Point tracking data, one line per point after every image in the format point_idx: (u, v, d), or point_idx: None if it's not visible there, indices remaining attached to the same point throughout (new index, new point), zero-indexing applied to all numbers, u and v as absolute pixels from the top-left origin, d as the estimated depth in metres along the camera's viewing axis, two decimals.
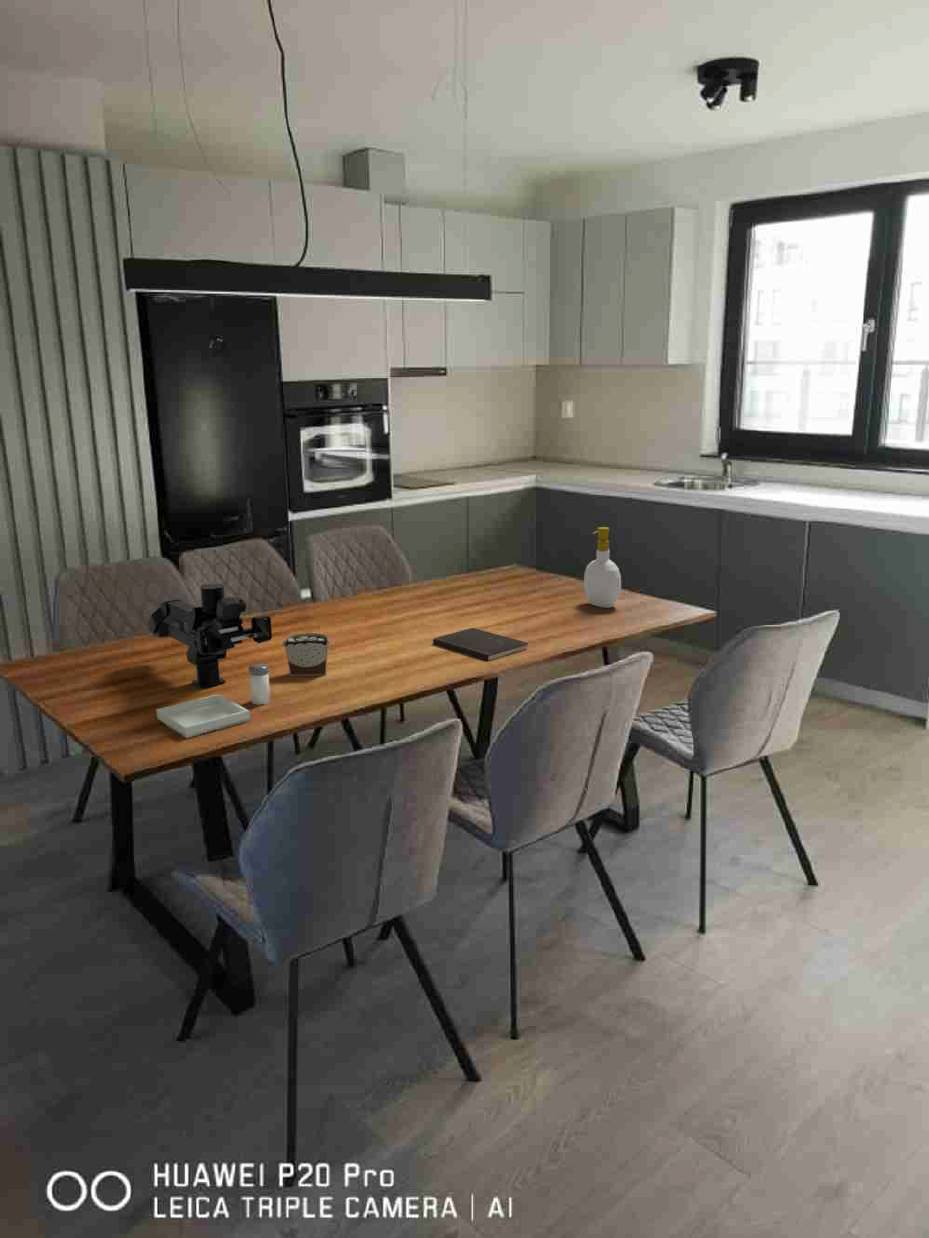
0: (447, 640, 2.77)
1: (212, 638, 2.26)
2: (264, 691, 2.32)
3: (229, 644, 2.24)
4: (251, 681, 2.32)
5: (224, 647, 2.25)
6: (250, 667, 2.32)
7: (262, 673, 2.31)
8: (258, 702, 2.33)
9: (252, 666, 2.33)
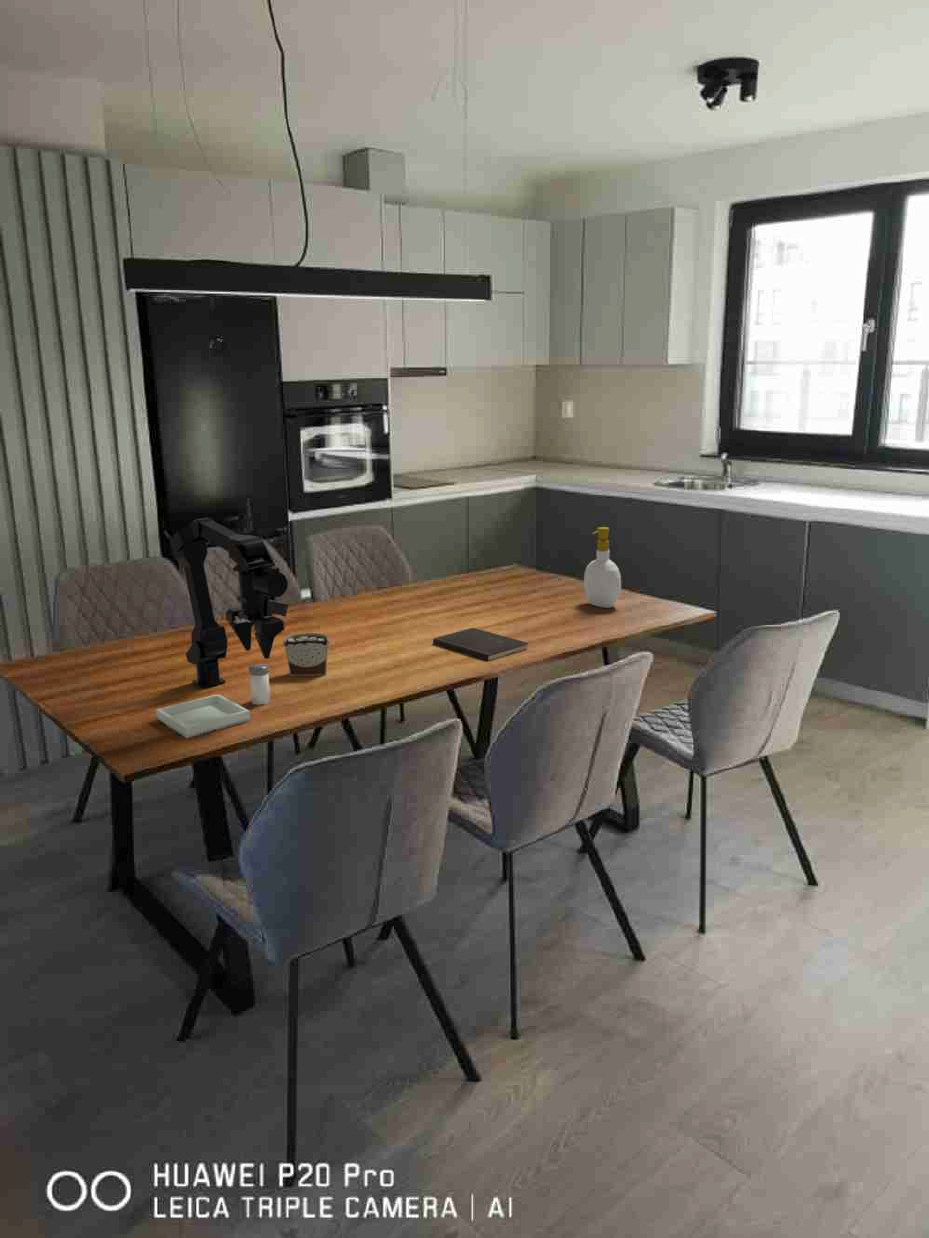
0: (447, 640, 2.77)
1: None
2: (264, 691, 2.32)
3: (267, 654, 2.28)
4: (251, 681, 2.32)
5: (264, 648, 2.26)
6: (250, 667, 2.32)
7: (262, 673, 2.31)
8: (258, 702, 2.33)
9: (252, 666, 2.33)
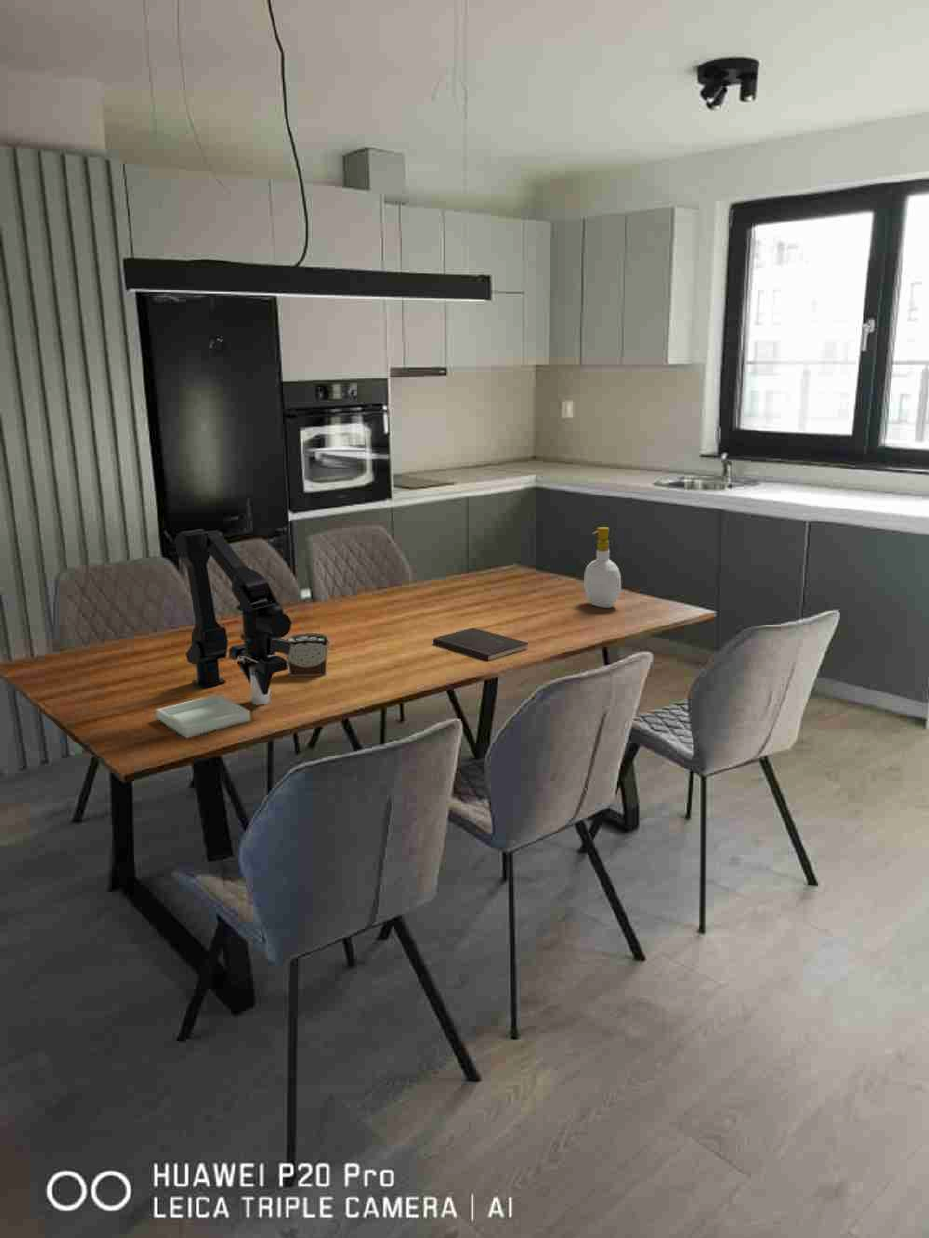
0: (447, 640, 2.77)
1: None
2: None
3: (266, 690, 2.32)
4: (251, 681, 2.32)
5: (263, 685, 2.30)
6: (250, 667, 2.32)
7: None
8: (258, 702, 2.33)
9: (252, 666, 2.33)
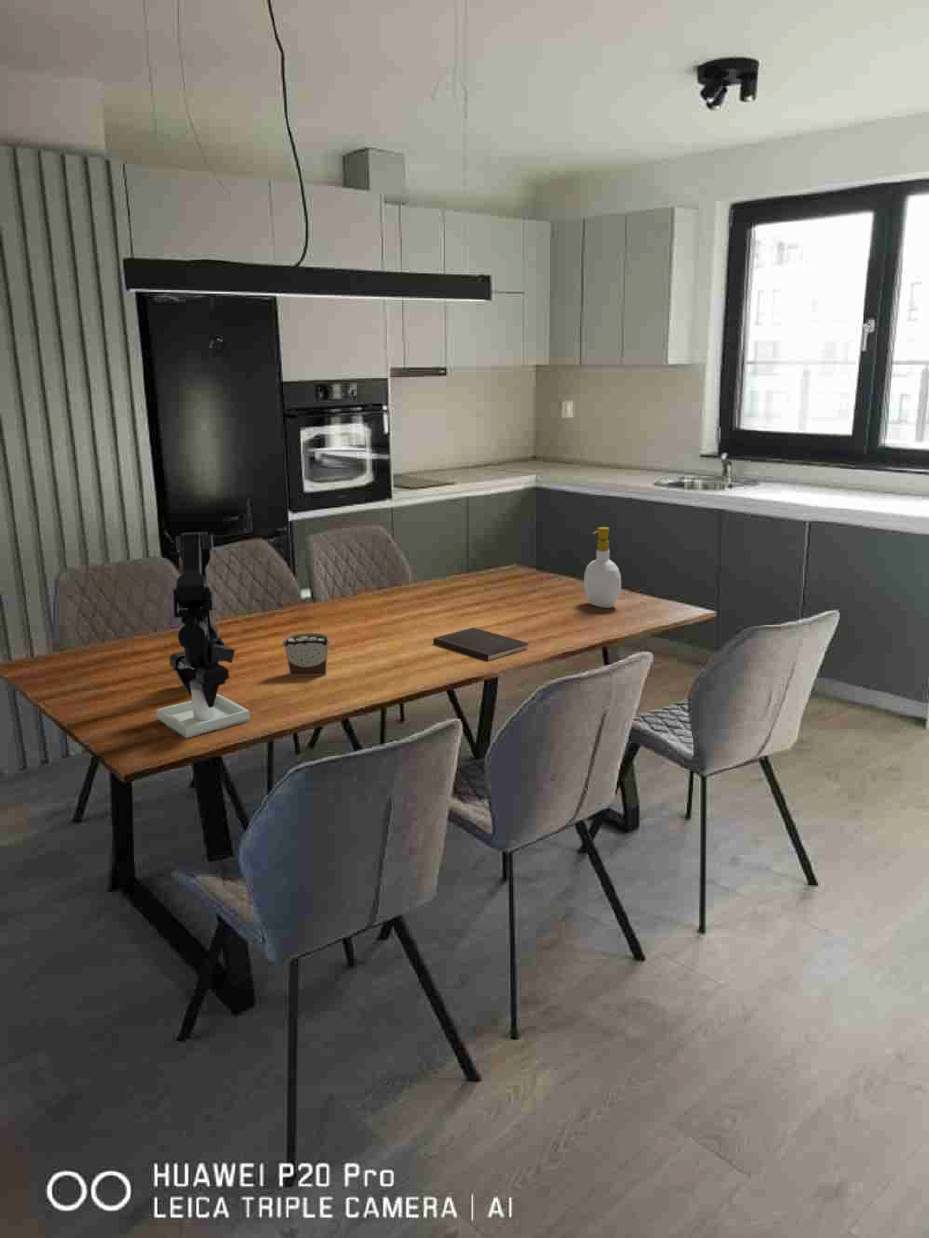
0: (447, 640, 2.77)
1: None
2: (206, 707, 2.21)
3: (212, 703, 2.18)
4: (192, 696, 2.20)
5: (208, 697, 2.17)
6: (191, 681, 2.20)
7: None
8: (199, 718, 2.21)
9: (194, 680, 2.21)
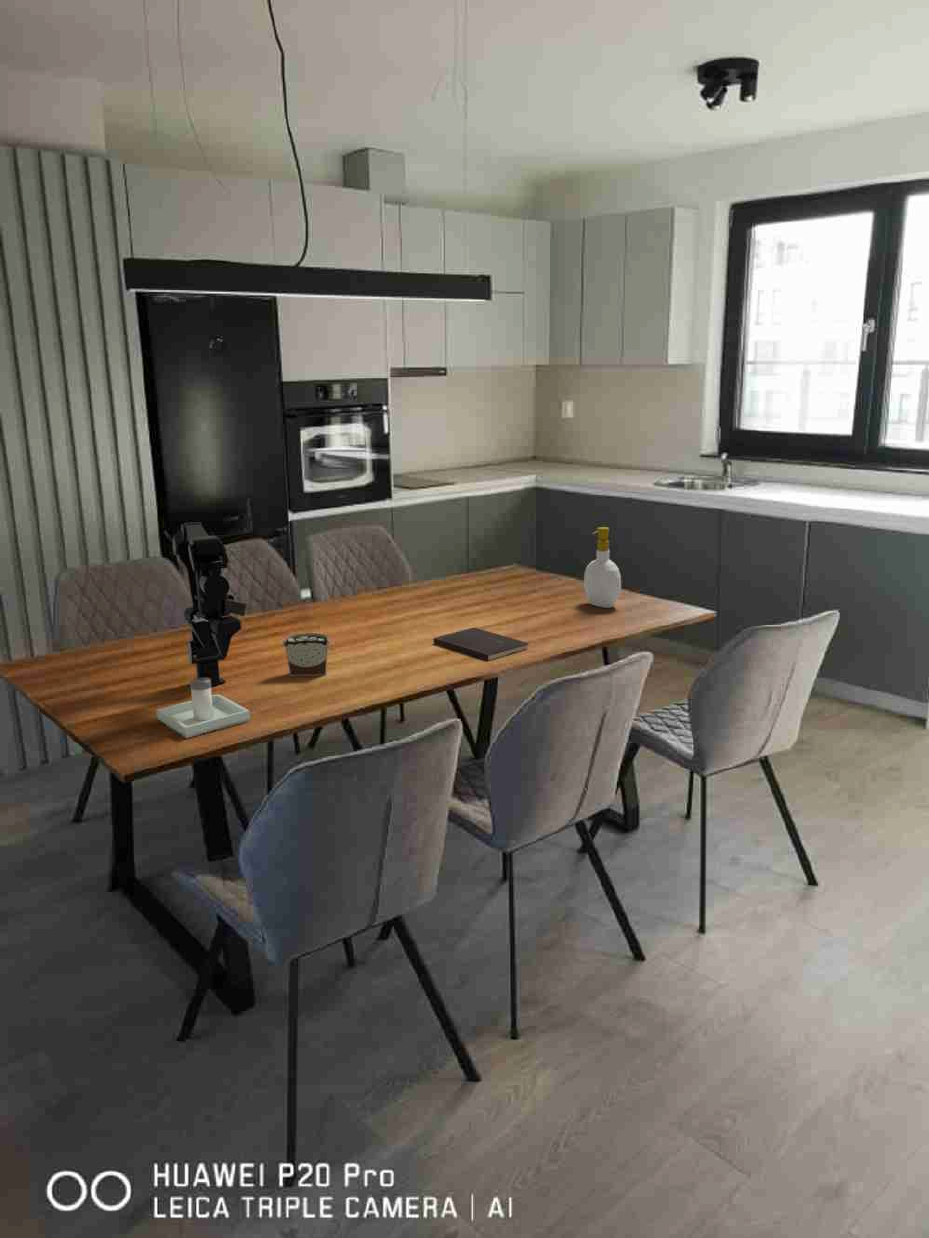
0: (448, 640, 2.77)
1: None
2: (206, 707, 2.21)
3: (225, 653, 2.29)
4: (192, 695, 2.20)
5: (221, 647, 2.28)
6: (191, 681, 2.21)
7: (203, 687, 2.20)
8: (199, 718, 2.21)
9: (194, 680, 2.21)
